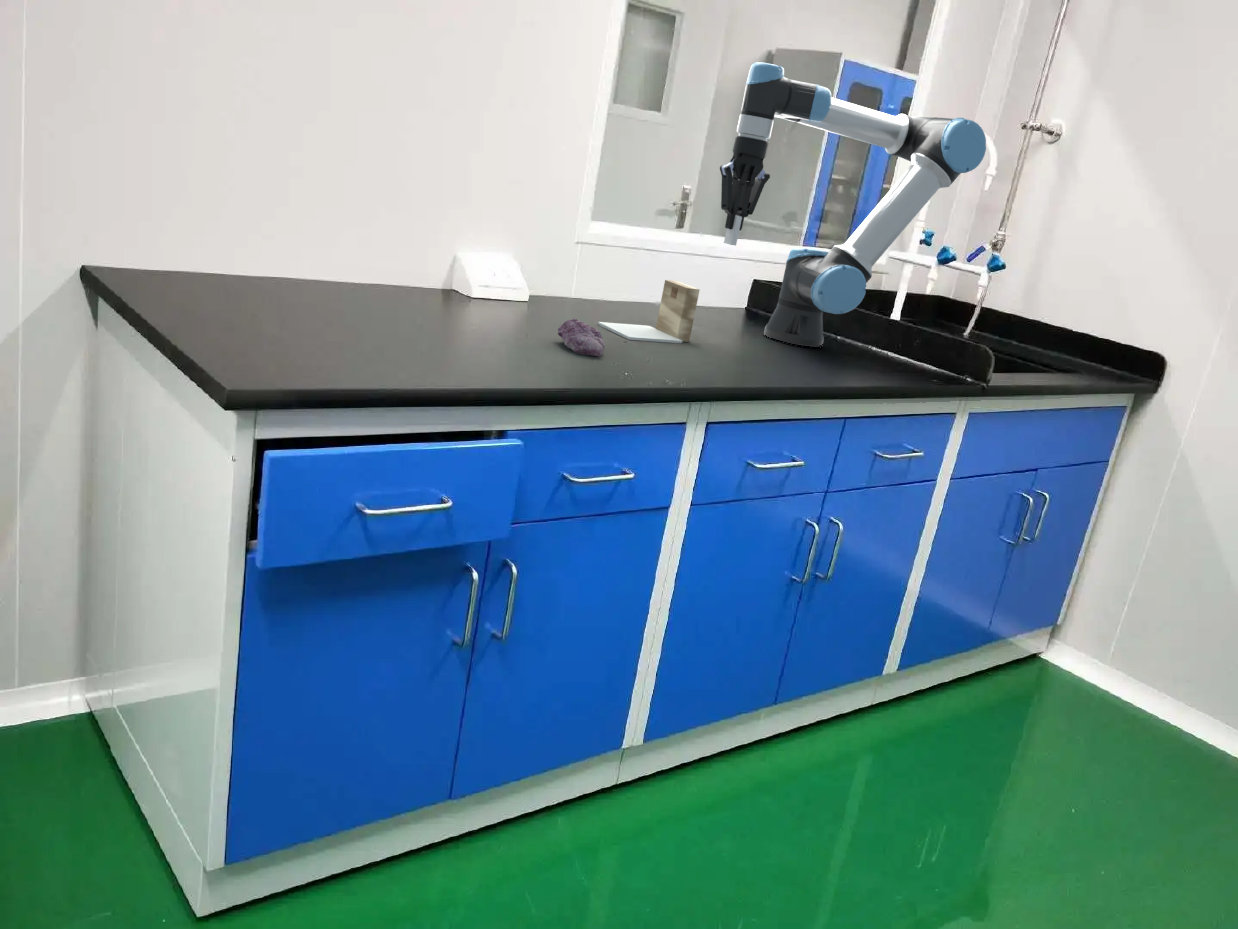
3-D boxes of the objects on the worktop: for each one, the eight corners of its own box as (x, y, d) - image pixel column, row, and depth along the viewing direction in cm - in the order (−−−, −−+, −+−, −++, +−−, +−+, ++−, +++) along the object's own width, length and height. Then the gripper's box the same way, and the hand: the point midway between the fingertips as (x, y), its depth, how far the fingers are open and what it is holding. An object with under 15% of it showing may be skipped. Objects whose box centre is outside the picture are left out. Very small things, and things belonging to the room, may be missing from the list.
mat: (648, 328, 236) (649, 325, 236) (681, 343, 225) (682, 340, 225) (597, 324, 229) (597, 321, 229) (629, 339, 218) (629, 337, 217)
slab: (667, 332, 236) (677, 281, 233) (689, 341, 229) (699, 289, 226) (655, 331, 234) (665, 279, 231) (676, 340, 227) (686, 287, 224)
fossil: (583, 342, 207) (588, 317, 205) (612, 361, 195) (618, 334, 194) (547, 338, 203) (551, 313, 201) (574, 357, 191) (579, 330, 190)
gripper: (764, 140, 230) (742, 244, 237) (719, 130, 223) (697, 238, 230) (785, 143, 224) (761, 250, 232) (739, 133, 217) (716, 243, 225)
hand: (729, 243), depth 231 cm, fingers closed
